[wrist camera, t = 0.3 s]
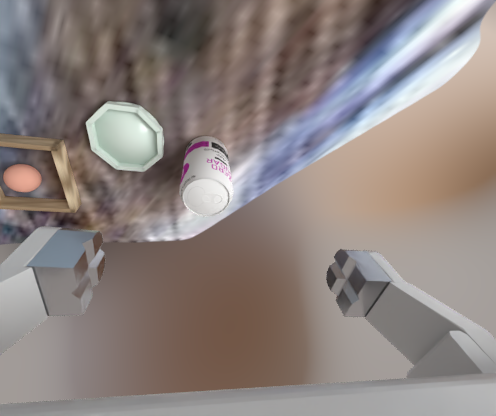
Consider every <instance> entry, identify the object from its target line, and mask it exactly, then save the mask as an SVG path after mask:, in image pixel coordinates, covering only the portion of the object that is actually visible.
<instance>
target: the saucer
mask: <svg viewBox="0 0 496 416" xmlns="http://www.w3.org/2000/svg"><path fill="white" fill-rule="evenodd" d="M86 126H87V131H88V135H89V140H90V144H91V149H92V151H93V152H95V153H96V154H97V155H98V156H100V157H101V158H102V159H104V160H105V161H106V162H107V163H109V164H110V165H111V166H112V167H114V168H115V169H116V170H128V171H140V172H145V171H146V170H147V169H148V168H150V167H151V166H152V165H153V164H155V163H156V162H157V161H158V160H160V159H161V158H162V157H163V154H164V151H163V147H164V135H163V128H162V127H161V126H160V125H159V123H158V122H157V120H156V119H155V118H154V117H153V116H152V115H151V114H150V113H149V112H148V111H147V110H145V109H144V108H142V107H141V106H140V105H136V104H133V103H129V102H123V101H117V102H111V101H108V102H106V103H105V104H104V105H103V106H102V107H101V108H100V109H98V110H97V111H96V113H95V114H94V115H93V116H92V117H91V118H90V119H89V120H88V121H87V122H86Z"/></svg>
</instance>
